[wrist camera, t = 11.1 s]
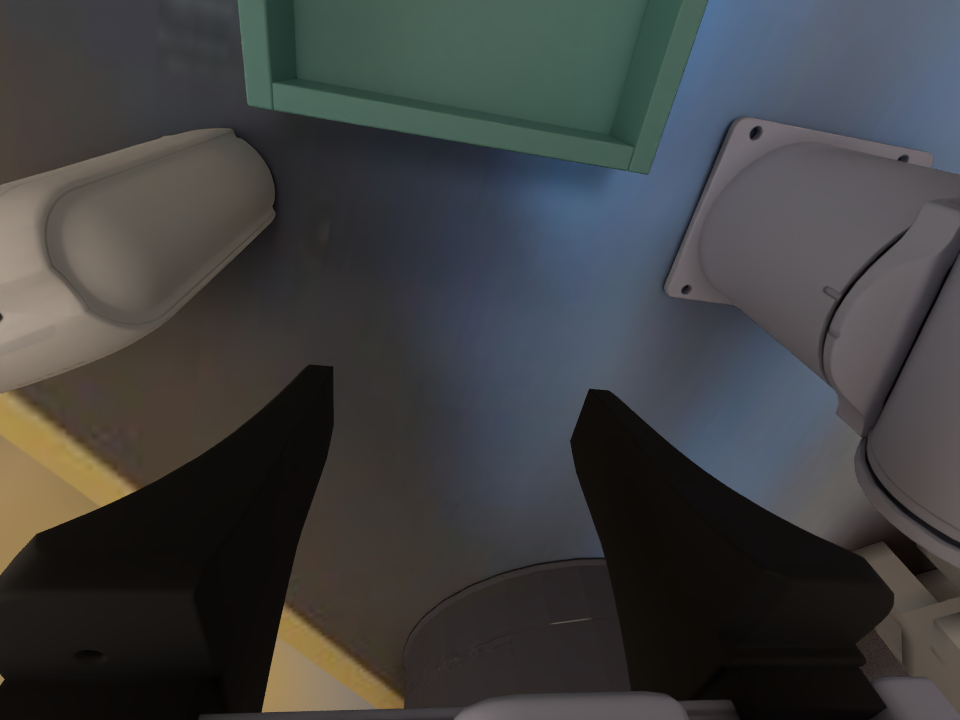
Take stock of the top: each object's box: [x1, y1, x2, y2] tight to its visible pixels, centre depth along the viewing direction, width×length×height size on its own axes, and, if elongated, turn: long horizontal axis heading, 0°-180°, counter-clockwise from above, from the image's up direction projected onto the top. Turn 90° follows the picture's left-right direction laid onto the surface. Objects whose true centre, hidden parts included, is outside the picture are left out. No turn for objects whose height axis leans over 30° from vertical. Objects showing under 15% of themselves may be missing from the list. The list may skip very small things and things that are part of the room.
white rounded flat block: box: [0, 128, 276, 393], centre depth 14 cm, size 10×4×12 cm, turn 105°
